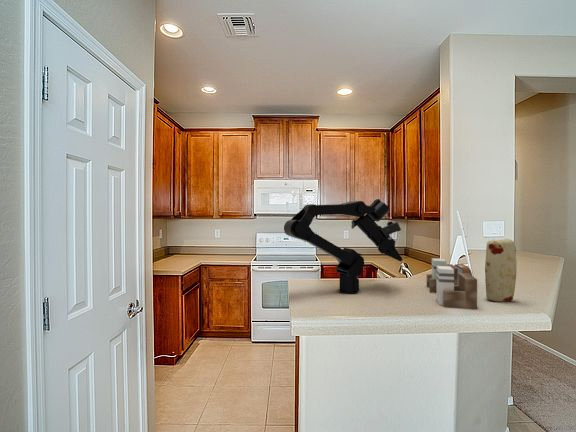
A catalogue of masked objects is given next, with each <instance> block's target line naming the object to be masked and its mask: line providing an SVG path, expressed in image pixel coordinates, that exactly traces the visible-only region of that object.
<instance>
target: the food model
mask: <svg viewBox="0 0 576 432" xmlns="http://www.w3.org/2000/svg"><path fill="white" fill-rule="evenodd" d="M485 250H486V251H485V262H484V264H485V265H484V273H485V274H484V276H485V278H484V281H485V294H486V296H485V297H486V300H488V301H493V302H500V303H501V302H504V303H505V302H512V301H513V300H514V296H515V290H516V281H517V273H518V272H517V268H518V267H517V248H516V244H515V241H514V240H512V239H509V238H502V239H492V240H488V241H487V242H486V248H485Z"/></svg>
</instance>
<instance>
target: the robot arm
mask: <svg viewBox="0 0 576 432" xmlns="http://www.w3.org/2000/svg"><path fill="white" fill-rule="evenodd" d="M389 213H390V207H389V205H387V204H386V203H385V202H383V201H381V199H380V198H377V199H375V200H374V201H373V202H372V203H371V204H370V205H367V204H366V203H365V202H364V201H362V200H353V201H352V200H351V201H346V202H342V203H340V204H314V203H312V204H311V203H310V204H305V205H304V206H303V208H302V209H300V211H298V212H297V213H296V214H294V215H293V217H292V218H291V219H288V220H287V221H286V222H285V223H284V226H283V232H284V233H285V235H287V236H289V237H291V238H294V239H297V240H300V241H304V242H306V243H308V244H310V245H311V246H313V247H315V248H316V249H318V250H320V251H322V252H324V253H326V254H327V255H329V256H331V258H332V257H333V258H335V259H336V261H337V262H338V264H337V265H336V266H335V271H336V273H337V274H339V289H338V290H339V291H338V293H340V294H358V292H359V291H360V278H359V277H361V276H362V272H363V268H364V266H365V258H364V257H363V256H362V253H358V252H357V251H356V250H355V249H353V248H349V247H343V249H342V248H341V247H340V246H338V245H335V243H332V242H331V241H329V240H327V239H325V238H324V237H322V236H320V235H319V234H317V233H316V232H314V231H313V229H312V228H311V227H310V226H311V224H312V222H313V220H314V218H315V217H316V216H332V215H333V216H334V215H340V216H345V217H351V218H352V217H354V218H355V217H356V219H352V220H351V229H352V230H353V229H354V228H356V227H358V229H359V230H360V231H361V232H362V233H363V234H364V235H365V236H366V238H368V239H370V241H371V242H372V243H373V244H374V245H375V246H376V248H377V250H378V251H379V253H381V254H382V255H383V254H384V255H386V256H388V257H390V258H392V259H394V260H396V261H399V262H400V263H401V262H402V261H403V260H404V259H403V258H402V256H401V254H400V253H399V251H398V250H397V248H396V242H397V241H396V240H395V239H393V238H392V237H391V236H390V235H391V234H394V233H396V232H400V231H402V228H401V226H400V224H399V222H398V221H395V222H393V221H391V220H390V221H388V222H387V223H386V225H385V226H384V227H383V226H381V225H379V224H377V222H380V221H381V220H382V219H383V218H384V217H385V216H387V214H389Z"/></svg>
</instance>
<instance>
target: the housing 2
mask: <svg viewBox="0 0 576 432" xmlns="http://www.w3.org/2000/svg"><path fill="white" fill-rule="evenodd" d="M442 306H443V307H444V308H451V309H465V310H467V309H468V310H478V278H476V277H474V276H473V274H472V275H470V274H469V273H458V285H454V291H449V290H443V305H442Z"/></svg>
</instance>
